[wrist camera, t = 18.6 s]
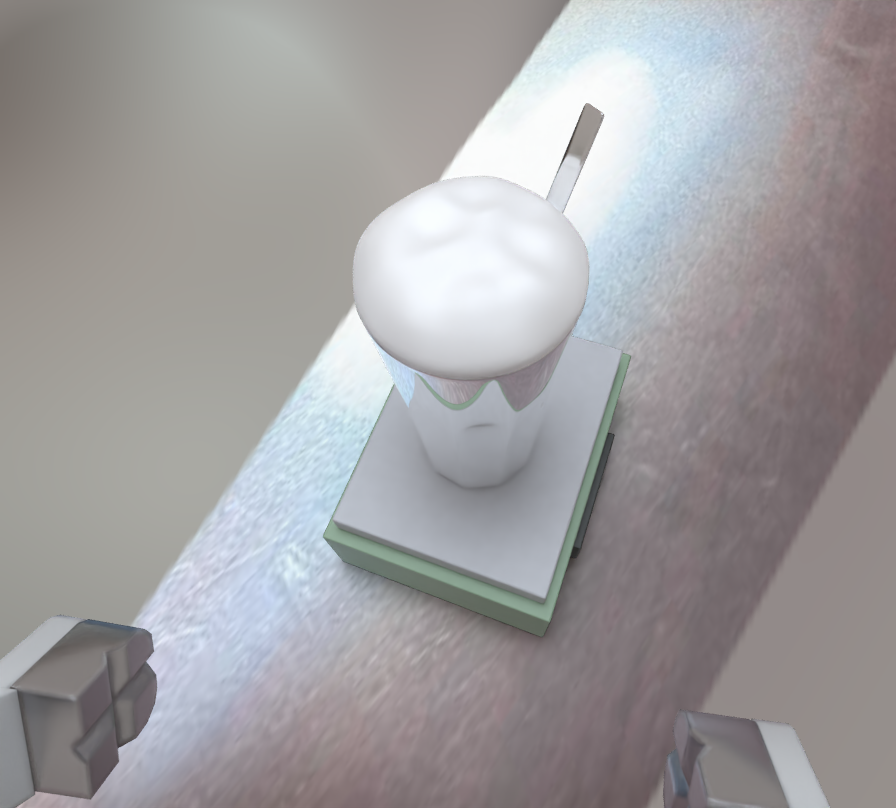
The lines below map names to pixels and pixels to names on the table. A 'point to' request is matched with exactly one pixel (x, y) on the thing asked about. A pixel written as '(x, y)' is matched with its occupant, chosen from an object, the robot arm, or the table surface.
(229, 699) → the table surface
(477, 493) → the scale
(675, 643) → the table surface
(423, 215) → the milkshake
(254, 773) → the table surface
